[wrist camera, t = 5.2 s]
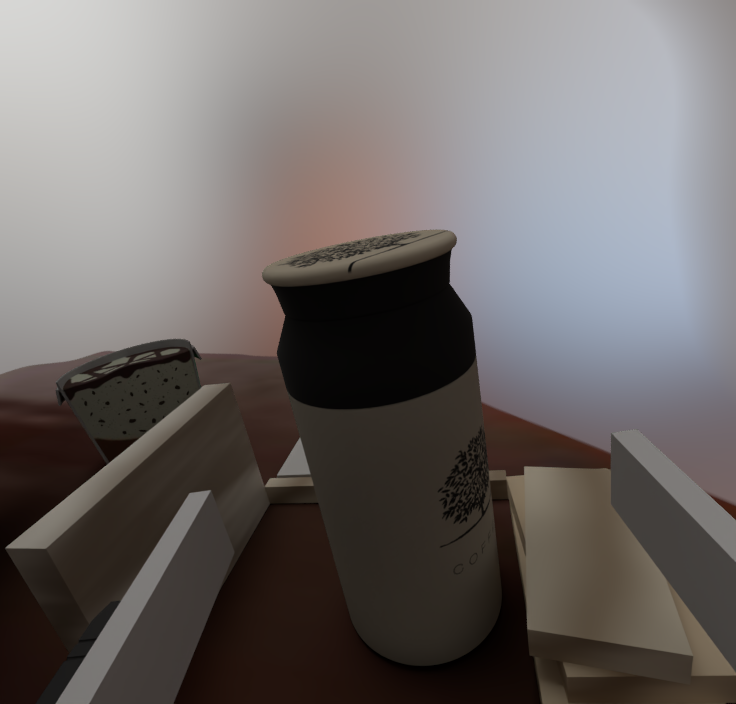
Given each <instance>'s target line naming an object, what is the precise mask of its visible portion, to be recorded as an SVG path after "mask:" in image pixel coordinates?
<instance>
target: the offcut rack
mask: <svg viewBox="0 0 736 704" xmlns="http://www.w3.org/2000/svg"><path fill="white" fill-rule="evenodd" d="M489 478H490V487H491V496H492V499H508V498H509V502H510V512H511V518H512V524H513V531H514V537H515V544H516V550H517V556H518V563H519V569H520V575H521V582H522V588H523V595H524V601H525V607H526V614H527V632H528V644H529V656H533V658H534V665H535V671H536V677H537V684H538V690H539V696H540V703H541V704H726V703H736V672H735V671H734V670H733V668H732V667H731V665H730V664H729V663H728V661H727V660H726V659H725V657H724V656H723V655H722V653H721V652H720V651H719V649H718V648H717V647H716V645H715V644H714V643H713V641H712V640H711V639H710V637H709V636H708V634H707V633H706V632H705V630H704V629H703V628H702V626H701V625H700V624H699V622H698V621H697V620H696V618H695V617H694V616H693V614H692V613H691V612H690V610H689V609H688V608H687V606H686V605H685V604H684V602H683V601H682V599H681V598H680V597H679V595H678V594H677V593H676V591H675V590H674V589H673V587H672V586H671V585H670V583H669V582H668V581H667V579H666V578H665V577H664V575H663V574H662V573H661V571H660V570H659V568H658V567H657V566H656V564H655V563H654V562H653V560H652V559H651V558H650V556H649V555H648V554H647V552H646V551H645V550H644V548H643V547H642V546H641V544H640V543H639V542H638V540H637V539H636V537H635V536H634V535H633V533H632V532H631V531H630V529H629V528H628V527H627V525H626V524H625V523H624V521H623V520H622V519H621V517H620V516H619V515H618V513H617V512H616V511H615V509H614V508H613V507H612V505H611V470H608V469H607V468H604V469H579V468H550V467H524V475H522V476H510V477H506V472H505V470H498V471H489ZM208 490H211V491H212V494H213V497H214V499H215V502H216V504H217V507H218V510H219V512H220V515H221V518H222V520H223V523H224V526H225V528H226V531H227V533H228V536H229V539H230V541H231V544H232V547H233V549H234V552H235V553H234V555H233V558H232V560H231V563H230V565H229V568H228V570H227V573H226V575H225V577H224V580H223V582H222V585H221V587H222V586H223V584H224V582H225V581H226V579H227V577H228V575H229V574H230V572H231V570H232V568H233V567H234V565H235V563H236V562H237V560H238V558H239V556H240V555H241V553H242V551H243V549H244V548H245V546H246V544H247V543H248V541H249V539H250V537H251V536H252V534H253V532H254V530H255V529H256V527H257V525H258V523H259V522H260V520H261V518H262V517H263V515H264V513H265V511H266V510H267V508H268V506H269V504H275V503H318V499H317V496H316V492H315V488H314V485H313V481H312V478H311V477H297V478H270V479H269V481H268V483H267V484H266V486H265V487H264V484H263V481H262V478H261V475H260V471H259V468H258V465H257V462H256V459H255V456H254V453H253V450H252V447H251V444H250V441H249V438H248V435H247V432H246V429H245V426H244V423H243V420H242V416H241V413H240V410H239V407H238V404H237V401H236V398H235V395H234V392H233V389H232V386H231V383H224V384H214V385H204V386H203V387H202V388H201V389H199V390H198V391H197V392H196V393H194V394H193V395H192V396H191V397H190V398H188V399H187V400H186V401H185V402H183V403H182V404H181V405H180V406H179V407H177V408H176V409H175V410H174V411H172V412H171V413H170V414H169V415H168V416H166V417H165V418H164V419H163V420H161V421H160V422H159V423H158V424H156V425H155V426H154V427H153V428H152V429H150V430H149V431H148V432H147V433H145V434H144V435H143V436H142V437H141V438H139V439H138V440H137V441H136V442H134V443H133V444H132V445H131V446H130V447H128V448H127V449H126V450H125V451H123V452H122V453H121V454H120V455H118V456H117V457H116V458H115V459H114V460H112V461H111V462H110V463H109V464H107V465H106V466H105V467H104V468H103V469H101V470H100V471H99V472H98V473H96V474H95V475H94V476H93V477H92V478H90V479H89V480H88V481H87V482H85V483H84V484H83V485H82V486H80V487H79V488H78V489H77V490H76V491H74V492H73V493H72V494H71V495H69V496H68V497H67V498H66V499H65V500H63V501H62V502H61V503H60V504H58V505H57V506H56V507H55V508H54V509H52V510H51V511H50V512H49V513H47V514H46V515H45V516H44V517H42V518H41V519H40V520H39V521H38V522H36V523H35V524H34V525H33V526H31V527H30V528H29V529H28V530H27V531H25V532H24V533H23V534H22V535H20V536H19V537H18V538H17V539H16V540H14V541H13V542H12V543H11V544H9V545H8V546H7V547H6V548H5V549H6V551H7V553H8V554H9V556H10V557H11V559H12V561H13V562H14V564H15V566H16V567H17V569H18V570H19V572H20V574H21V575H22V577H23V579H24V580H25V582H26V583H27V585H28V587H29V588H30V590H31V592H32V593H33V595H34V596H35V598H36V600H37V601H38V603H39V605H40V606H41V608H42V610H43V611H44V613H45V614H46V616H47V618H48V619H49V621H50V623H51V624H52V626H53V627H54V629H55V631H56V632H57V634H58V636H59V637H60V639H61V640H62V642H63V644H64V645H65V647H66V649H67V650H68V652H69V654H70V652H71V651H72V649H73V648H74V646H75V645H76V644H78V643H79V639H80V637H81V636H82V634H83V633H84V631H85V630H86V628H87V627H88V625H89V624H90V623H91V621H92V620H93V619H94V618H95V617H96V616H97V615H98V614H99V613H100V612H101V611H102V610H103V609H104V608H105V607H106V606H107V605H108V604H109V603H110V602H112V601H120V600H122V599H123V597H124V596H125V594H126V592H127V591H128V589H129V588H130V586H131V585H132V583H133V581H134V580H135V578H136V577H137V575H138V574H139V572H140V570H141V569H142V567H143V566H144V564H145V563H146V561H147V559H148V558H149V556H150V555H151V553H152V552H153V550H154V548H155V547H156V545H157V544H158V542H159V541H160V539H161V537H162V536H163V534H164V533H165V531H166V530H167V528H168V526H169V525H170V523H171V522H172V520H173V519H174V517H175V515H176V514H177V512H178V511H179V509H180V508H181V506H182V504H183V503H184V501H185V500H186V498H187V497H188V495H189V493H194V492H201V491H208ZM221 587H220V589H221ZM219 591H220V590H219ZM218 593H219V592H218Z"/></svg>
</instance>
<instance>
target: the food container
mask: <svg viewBox="0 0 736 704" xmlns="http://www.w3.org/2000/svg"><path fill="white" fill-rule="evenodd" d="M194 357H196V358H199V359H200V360H201V359H202V358H201V357H200V355H199V353H198V352H197V350H196V349H195V347H194V346H193V345H191V344H190V342H189V341H188V340H185V339H168V340H160V341H155V342H150V343H145V344H141V345H137V346H133V347H130V348H126V349H123V350H120V351H116V352H113V353H110V354H107V355H105V356H102V357H99V358H97V359H94V360H92V361H89V362H87V363H85V364H83V365H81V366H79V367H77V368H75V369H73V370H71V371H69V372H67V373H66V374H64V375H63V376H62V377H60V378H59V379H58V380H57V382H56V384H57V387H58V388H57V389H56V395H57V399H58V404H59V406H60V405H61V404H62V403H63V402H64V400H66V401H67V403H68V404H69V406H70V408H71V409H72V411H73V412H74V414H75V415H76V417H77V418H78V420H79V422H80V423H81V425H82V426H83V428H84V429H85V431H86V432H87V434H88V436H89V437H90V439H91V440H92V442H93V443H94V445H95V446H96V448H97V450H98V451H99V453H100V454H101V456H102V457H103V459H104V460H105V462H106V464H109V463H110V462H111V461H112V460H114V459H115V458H116V457H117V456H118V455H120V454H121V453H122V452H123V451H125V450H126V449H127V448H128V447H130V446H131V445H132V444H133V443H134V442H136V441H137V440H138V439H139V438H141V437H142V436H143V435H144V434H145V433H147V432H148V431H149V430H150V429H152V428H153V427H154V426H155V425H156V424H158V423H159V422H160V421H161V420H163V419H164V418H165V417H166V416H168V415H169V414H170V413H171V412H172V411H174V410H175V409H176V408H177V407H179V406H180V405H181V404H182V403H183V402H185V401H186V400H187V399H188V398H190V397H191V396H192V395H193V394H194V393H196V392H197V391H198V390H199V389H201V385H200V381H199V377H198V372H197V368H196V363H195V359H194Z"/></svg>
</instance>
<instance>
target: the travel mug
mask: <svg viewBox="0 0 736 704" xmlns="http://www.w3.org/2000/svg"><path fill="white" fill-rule="evenodd" d="M456 241H457V238H456V236H455V234H454V233H453V232H451V231H447V230H422V231H412V232H404V233H397V234H390V235H384V236H378V237H372V238H366V239H361V240H356V241H351V242H346V243H341V244H337V245H332V246H328V247H324V248H320V249H316V250H312V251H308V252H305V253H302V254H298V255H294V256H291V257H288V258H285V259H282V260H280V261H277V262H275V263H273V264H271V265H269V266H267V267H266V268H265V269H264V270H263V272H262V277H263V280H264V281H265V282H266V283H268V284H270V285H271V286H272V288H273V289H274V291H275V293H276V295H277V297H278V300H279V302H280V304H281V307H282V309H283V312H284V314H285V315H286V316H285V321H284V324H283V329H282V333H281V337H280V342H279V346H278V350H277V356H278V359H279V363H280V367H281V370H282V374H283V377H284V381H285V385H286V388H287V392H288V395H289V399H290V402H291V406H292V410H293V413H294V417H295V420H296V424H297V428H298V431H299V435H300V438H301V442H302V445H303V449H304V453H305V456H306V460H307V463H308V467H309V471H310V474H311V478H312V481H313V485H314V488H315V492H316V496H317V499H318V503H319V506H320V510H321V514H322V517H323V521H324V524H325V528H326V531H327V535H328V539H329V542H330V546H331V549H332V553H333V557H334V560H335V564H336V567H337V571H338V574H339V578H340V582H341V585H342V589H343V592H344V596H345V600H346V603H347V607H348V610H349V614H350V617H351V620H352V623H353V625H354V627H355V629H356V631H357V633H358V634H359V636H360V637H361V638H362V639H363V641H364V642H365V643H366V644H367V645H368V646H369V647H371V648H372V649H373V650H374V651H376V652H377V653H379V654H380V655H382V656H384V657H386V658H388V659H390V660H393V661H395V662H399V663H402V664H407V665H414V666H430V665H437V664H442V663H446V662H450V661H452V660H455V659H458V658H460V657H461V656H463V655H465V654H467V653H469V652H470V651H472V650H473V649H474V648H476V647H477V646H478V645H479V644H480V643H481V642H482V641H483V640H484V639H485V638H486V637H487V635H488V634H489V633H490V632H491V630H492V628H493V627H494V625H495V623H496V621H497V618H498V616H499V613H500V608H501V602H502V588H501V579H500V570H499V560H498V551H497V542H496V533H495V524H494V515H493V505H492V496H491V487H490V478H489V469H488V460H487V450H486V441H485V432H484V423H483V414H482V405H481V396H480V386H479V377H478V368H477V359H476V350H475V341H474V332H473V322H472V316H471V314H470V312H469V311H468V309H467V308H466V306H465V305H464V303H463V302H462V301H461V299H460V298H459V296H458V295H457V294H456V292H455V291H454V289H453V288H452V286H451V285H450V284H449V282H450V257H451V250H452V248H453V247H454V246H455V245H456Z"/></svg>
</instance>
